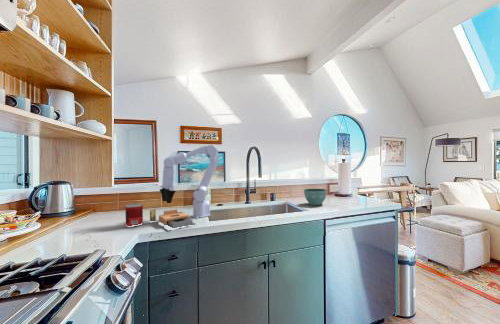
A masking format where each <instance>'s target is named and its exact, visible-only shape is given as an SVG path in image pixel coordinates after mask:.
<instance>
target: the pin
mask: <svg viewBox="0 0 500 324" xmlns="http://www.w3.org/2000/svg"><path fill="white" fill-rule="evenodd" d="M150 221H156V222H157V209H155V208H153V209H150V210H149V222H150Z"/></svg>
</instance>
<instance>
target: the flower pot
mask: <svg viewBox="0 0 500 324" xmlns="http://www.w3.org/2000/svg"><path fill="white" fill-rule="evenodd" d="M303 192H304V194H303V195H304V197H305V199H306V201H307V203H308V205H310V206H322V205H323V203H324V201H325V199H326V198H327V189H325V188H305V189H303Z"/></svg>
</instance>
